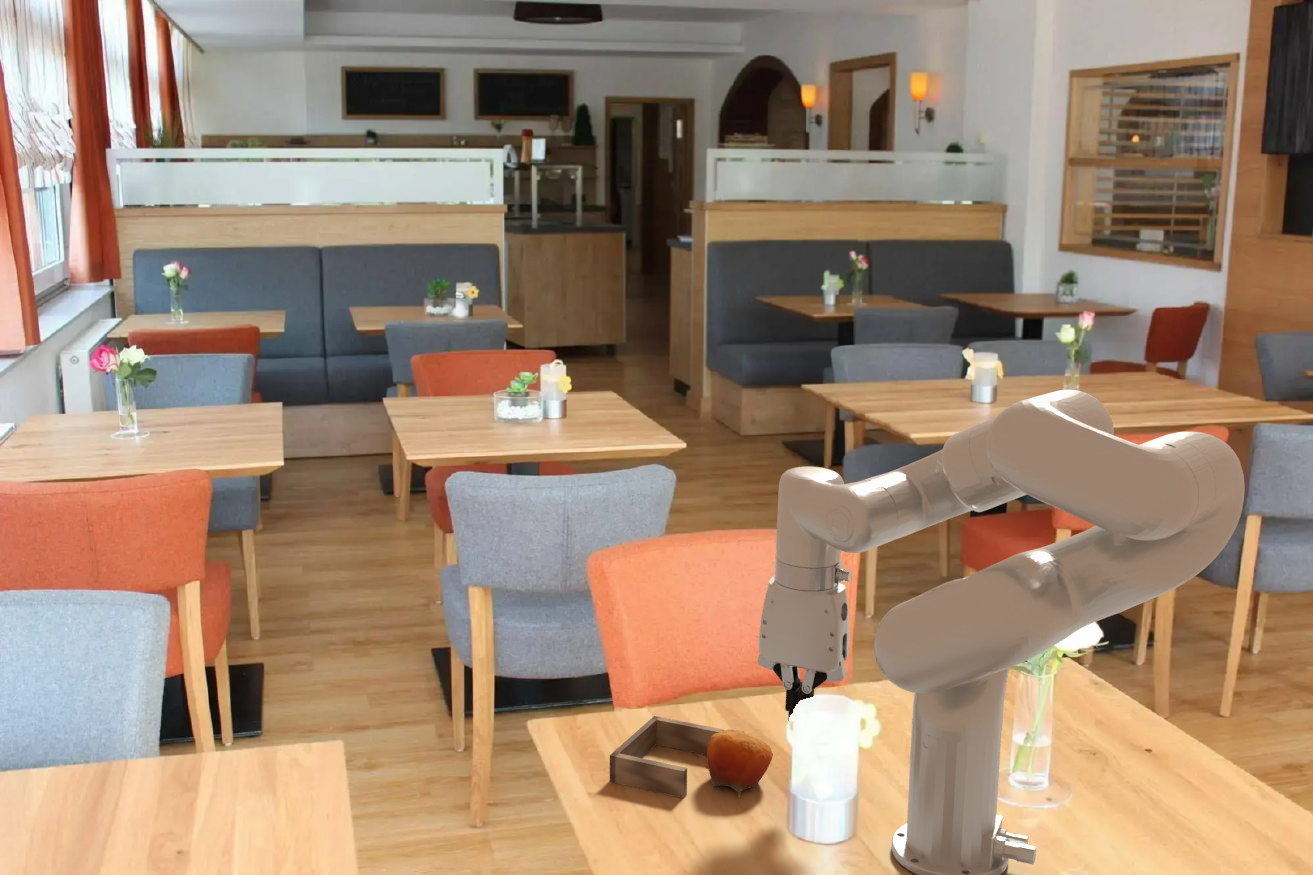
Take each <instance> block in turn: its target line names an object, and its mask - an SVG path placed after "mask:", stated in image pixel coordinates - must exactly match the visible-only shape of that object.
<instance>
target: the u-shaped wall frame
mask: <svg viewBox="0 0 1313 875" xmlns="http://www.w3.org/2000/svg"><path fill="white" fill-rule="evenodd" d="M723 731H725V729H723V728H717V727H712V726H709V725H708V726H706V725H702V724H698V723H693V722H687V721H683V720H677V719H673V718H672V719H671V718H666V717H661V716H657V715H654V716H652V717H651V718H650V719H649V720H648V721H647V722H645V724H644V725H642V726H641V727H640V728H639V729H637V730H636V731H635V732H634V733H633V734H632V735H631V736H630V737H628V738H627V739H626V740H625V741H624V742H622V744H621V745H619V746H618V747H617V748H616V749H615V750H614V751H613V752H612V753H611V754H610V755H609V782H610V783H615V784H619V785H623V786H627V787H628V786H629V787H633V788H635V789H636V788H637V789H641V790H645V791H646V790H647V791H650V792H655V793H658V794H663V795H669V796H673V797H678V798H681V799H685V797H686V796H687V795H688V767H685V766H679V765H676V764H675V765H674V764H671V763H667V762H661V761H656V760H651V759H647V758H644V757H645V756H646V755H647V754H648V753H649V752H651V751H652V749H654V748H655V747H656V746H662V747H666V748H671V749H676V750H679V751H687V752H691V753H696V754H701V755H703V756H707V748H708V743H709V741H710V738H711V736H712V735H713V734H715V733H720V732H723Z"/></svg>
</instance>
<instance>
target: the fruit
mask: <svg viewBox="0 0 1313 875" xmlns="http://www.w3.org/2000/svg"><path fill="white" fill-rule="evenodd" d="M772 751H773V750H772V748H771V746H770V745H769V744H768V743H767V742H766V741H764V739H762V738H761V737H759V736H755V735H753V734H749V733H746V732H745V731H740V730H738V729H724V731H723V732H720V733H715V734H713V735H712V736H711V738H710V741H709V743H708V748H707V755H706V759H707V760H706V761H707V769H708V771H709V774H710V775H709V776H710V779H711V782H712V785H713V788H715V787H717V786H718V787H719V786H726V787H730V788H731V789H733V790H734V791H736V792H737V793H738V798H740V799H741V798H742V797H741V796H742V795H741V794H742V791H744V790H747V789H750V788H754V787H755V786H756V785H758V783H759V782H760V781H761V779H762V778H763V777H764V775H765V773H766V772H767V771H768V768H769V766H770V765H771V762H772V759H773V757H774V756H773V755H774V754H773V752H772Z"/></svg>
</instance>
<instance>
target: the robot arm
mask: <svg viewBox="0 0 1313 875" xmlns="http://www.w3.org/2000/svg"><path fill="white" fill-rule="evenodd" d="M1114 428H1115V427H1114V424H1113V419H1112V416H1111V414H1110V413H1109V410H1108V409H1107V408H1106V406H1105V404H1103V403H1102V402H1101V400H1099V399H1098V398H1096V397H1095V396H1093V395H1091V394H1089V393H1087V392H1084V391H1082V390H1077V389H1076V390H1075V389H1061V390H1060V389H1059V390H1055V391H1052V392H1047V393H1044V394H1041V395H1037V396H1033V397H1030V398H1026V399H1023V400H1019V401H1017V402H1015V403H1012V404H1011V405H1009V406H1007V407H1005V408H1004V409H1003V410H1002V411H1001V412H1000V413H999V414H998V415H997V416H995V417H992V418H991V419H987V420H986V421H983V422H981V423H978V424H975V425H973V426H971V427H969V428H967V429H964V430H961V431H959V432H956V433H954V434H952V435H951V436H949V437H948V438H947V439H946V441H945V442H944V444H943V448H941V449H940V450H938V451H936V452H934V453H932V454H930V455H927V456H925V457H923V458H920V459H918V460H916V461H914V462H911V463H909V464H907V465H903V466H901V467H899V468H897V469H893V470H892V471H889V472H885V473H882V474H877V475H874V476H871V477H869V478H866V479H861V480H858V481H856V482H855V481H854V482H849V483H848V482H847V483H845V481H844V479H843V476H841V475H840V473H838V472H837V471H834V470H833V469H830V468H826V467H819V466H798V467H797V466H796V467H792V468H789V469H787V470H785V471H784V472H783V473H782V475H781V477H780V479H779V484H778V493H777V494H778V497H777V516H776V517H777V518H776V519H777V520H776V536H775V537H776V538H775V554H774V555H775V558H774V559H775V560H774V575H772V577H771V578H770V579H769V580H768V584H767V588H766V592H765V596H764V599H763V600H764V601H763V605H762V610H761V617H760V624H759V632H758V653H759V655H758V658H757V663H758V665H759V666H761V667H763V668H765V669H768V670H770V671H773V672H774V673H775V674H776V676H777V677H778V679H779V680H780V681H781V683H782V687H783V689H785V690H786V691H785V706H784V710H785V712H788V717H787V718H788V719H787V721H788V722H790V721H789V717H790V715H791V714H792V713H793V709H794V708H795V706H796V704H798V702H799V701H800V700H803V699H806V698H810V697H813V696H814V697H815V689H817V688H818V687H819V686H821V685H822V684H823V683H824V682H825V683H826V682H828V683H830V682H831V683H832V682H833V683H834V682H843V681H844V679H845V678H846V677H847V670H846V665H845V661H847V659H848V656H849V651H850V617H849V616H850V615H849V602H848V595H847V594H848V593H847V589H846V585H845V584H843V583H844V582H846V583H847V582H848V583H850V581H851V579H852V570H849V569H846V568H845V567H844V568H843V564H842V562H843V561H842V560H841V552H844V553H849V554H859V553H860V554H861V553H864V552H868V551H869V550H872V549H875V548H877V547H881V546H883V545H884V544H888V543H890V542H893V541H895V540H898V539H901V538H903V537H907V536H909V535H911V534H914V533H917V532H920V531H922V530H924V529H926V528H929V527H931V526H934V525H937V524H939V523H942V522H944V521H947V520H950V519H952V518H955V517H958V516H960V515H963V514H966V513H969V512H971V511H972V512H973V511H974V512H977V513H982V512H985V511H987V510H990V509H993V508H995V507H998V506H1000V505H1003V504H1006V503H1009V502H1011V501H1014V500H1016V499H1019V498H1021V497H1024V496H1027V495H1028V496H1029V497H1031V498H1034V499H1036V500H1037V501H1040V502H1042V503H1044V504H1046V505H1048V506H1050V507H1053V508H1055V509H1058V510H1060V511H1061V512H1065V513H1066V514H1069V515H1071V516H1073V517H1076V518H1077V519H1080V520H1082V521H1084V522H1087V523H1088V524H1089V523H1090V524H1092V525H1093V526H1092V527H1090V528H1088V529H1086V530H1083V531H1082V532H1078V533H1076V534H1074V535H1071V536H1069V537H1066V538H1065V539H1061V540H1059V541H1056V542H1054V543H1051V544H1048V545H1045V546H1041V547H1038V548H1034V549H1031V550H1030V549H1029V550H1026V551H1023V552H1019V553H1016V554H1014V555H1012V556H1009V557H1007V558H1005V559H1003V560H1000V561H999V562H997V563H994V564H992V565H989V566H988V567H985V568H983V569H980V570H979V571H977V572H976V571H975V572H974V573H971V574H969V575H967V576H964V577H962V578H956V579H953V580H950V581H949V580H948V581H946V582H944V583H942V584H940V585H937V586H935V587H933V588H930V589H929V590H927V591H924V592H922V593H921V594H919V595H917V596H915V597H912V598H910V599H908V600H905V601H903V602H901V603H898V604H897V605H895V606H893V607H892V608H891V609H890V610H888V611H887V612H886V613H885V615H884V616H883V617H882V619H881V620H880V621H879V624H878V625H877V628H876V630H875V634H874V638H873V653H874V657H875V658H874V659H875V661H876V662H875V663H876V664H877V666H878V668H879V670H880V672H881V673H882V674H883V676H885V678H887V680H888V681H889V682H891V683H892V684H893V685H895V686H896V687H897V688H900V689H901V690H904V691H906V692H909V693H914V695H913V703H912V718H911V732H910V734H911V735H910V753H909V754H910V755H909V774H908V777H909V778H908V795H907V818H906V819H907V820H906V823H905V824H903V825H902V826H900V827H899V828H898V829H897V830H896V831H895V832H894V834H893V836H892V839H891V852H892V854H893V856H894V858H895V860H896V861H897V862H898V863H899V864H900V865H901V866H903V867H904V868H905V869H906V870H908V871H909V872H911V873H913V874H915V875H1002V874H1003V873H1004V872H1005V870H1006V869H1007V867H1008V864H1009V860H1014V861H1016V862H1018V863H1024V864H1029V865H1034V864H1035V861H1036V856H1037V846H1034V845H1031V844H1029V835H1025V834H1021V833H1013V832H1007V831H1008V830H1007V829H1006V828H1003V816H1002V815H998V814H997V813H998V812H997V809H998V793H999V778H1000V764H1001V761H1000V760H1001V748H1002V747H1001V746H1002V732H1003V722H1004V711H1005V709H1004V708H1005V707H1004V706H1005V698H1006V690H1007V689H1006V688H1007V683H1008V678H1009V674H1010V673H1009V672H1010V668H1013V667H1014V666H1015V667H1016V666H1018V665H1019V664H1022V663H1024V662H1027V661H1028V660H1031V659H1033V658H1035V657H1036V656H1039V655H1041V654H1042V653H1044V652H1045V651H1047V650H1049V649H1051V648H1052V647H1054V646H1055V645H1057V644H1059V643H1060V642H1062V641H1064V640H1066V639H1067V638H1069V637H1070V636H1071V635H1072V634H1074V633H1075V632H1077V631H1079V630H1080V629H1082V628H1085V627H1087V626H1088V625H1091V624H1093V623H1095V622H1098V621H1100V620H1103V619H1106V618H1109V617H1111V616H1114V615H1117V614H1121V613H1122V612H1125V611H1127V610H1129V609H1131V608H1134V607H1135V606H1138V605H1140V604H1143V603H1146V602H1148V601H1151V600H1153V599H1156V598H1157V597H1160V596H1163V595H1164V594H1167V593H1169V592H1171V591H1172V590H1175V589H1177V588H1179V587H1180V586H1182V585H1184V584H1185V583H1188V581H1190V580H1192V579H1193V578H1194V577H1196V576H1197V575H1198V574H1199V573H1201V572H1202V571H1203V570H1205V569H1206V568H1207V567H1208V566H1209V565H1210V564H1211V563H1212V562H1214V560H1215V559H1216V558H1217V557H1218V556H1219V554H1221V553H1222V551H1223V550H1224V549H1225V547H1226V545H1227V544H1228V542H1229V541H1230V540H1231V537H1232V536H1233V535H1234V532H1235V531H1236V528H1237V526H1238V524H1239V521H1240V518H1241V515H1242V512H1243V505H1244V501H1245V492H1246V491H1245V490H1246V489H1245V488H1246V486H1245V476H1244V471H1243V468H1242V465H1241V464H1242V463H1241V460H1240V459H1239V457H1238V455H1237V454H1236V452H1235V451H1234V450H1233V448H1231V446H1230V445H1229V444H1228V443H1226V442H1225V440H1222V439H1220V438H1218V437H1216V436H1215V435H1212V434H1209V433H1206V432H1200V431H1178V432H1174V433H1167V434H1165V435H1162V436H1159V437H1156V438H1153V439H1150V440H1148V441H1145V442H1144V443H1140V444H1138V443H1134V442H1131V441H1129V440H1126V439H1124V438H1121V437H1119V436H1116V435H1114V434H1115V432H1114V430H1115V429H1114ZM800 669H804V670H805V671H804V675H803V680H801V679H800V678H801V677H800Z"/></svg>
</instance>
